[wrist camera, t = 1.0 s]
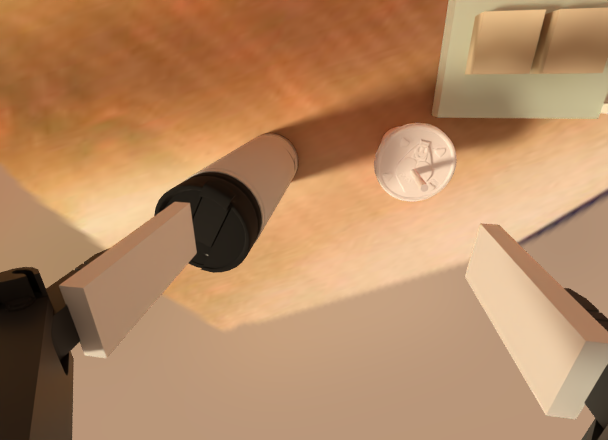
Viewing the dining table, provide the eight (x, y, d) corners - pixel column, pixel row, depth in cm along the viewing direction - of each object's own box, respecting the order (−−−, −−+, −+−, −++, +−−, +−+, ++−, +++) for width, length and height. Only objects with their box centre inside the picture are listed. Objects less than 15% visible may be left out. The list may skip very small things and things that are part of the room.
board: (453, -28, 28) (462, -38, 25) (630, -36, 26) (657, -48, 24) (431, 115, 32) (437, 117, 30) (579, 116, 31) (598, 118, 28)
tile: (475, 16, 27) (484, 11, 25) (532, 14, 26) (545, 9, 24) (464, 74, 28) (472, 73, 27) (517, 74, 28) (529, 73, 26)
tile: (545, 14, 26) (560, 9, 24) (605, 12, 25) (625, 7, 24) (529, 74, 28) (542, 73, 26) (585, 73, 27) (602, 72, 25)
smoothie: (360, 164, 35) (367, 210, 23) (379, 106, 33) (398, 121, 20) (416, 178, 35) (453, 233, 23) (438, 121, 33) (496, 146, 20)
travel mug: (310, 148, 35) (269, 217, 17) (283, 195, 38) (223, 297, 20) (261, 119, 35) (166, 159, 17) (237, 169, 38) (134, 250, 19)
